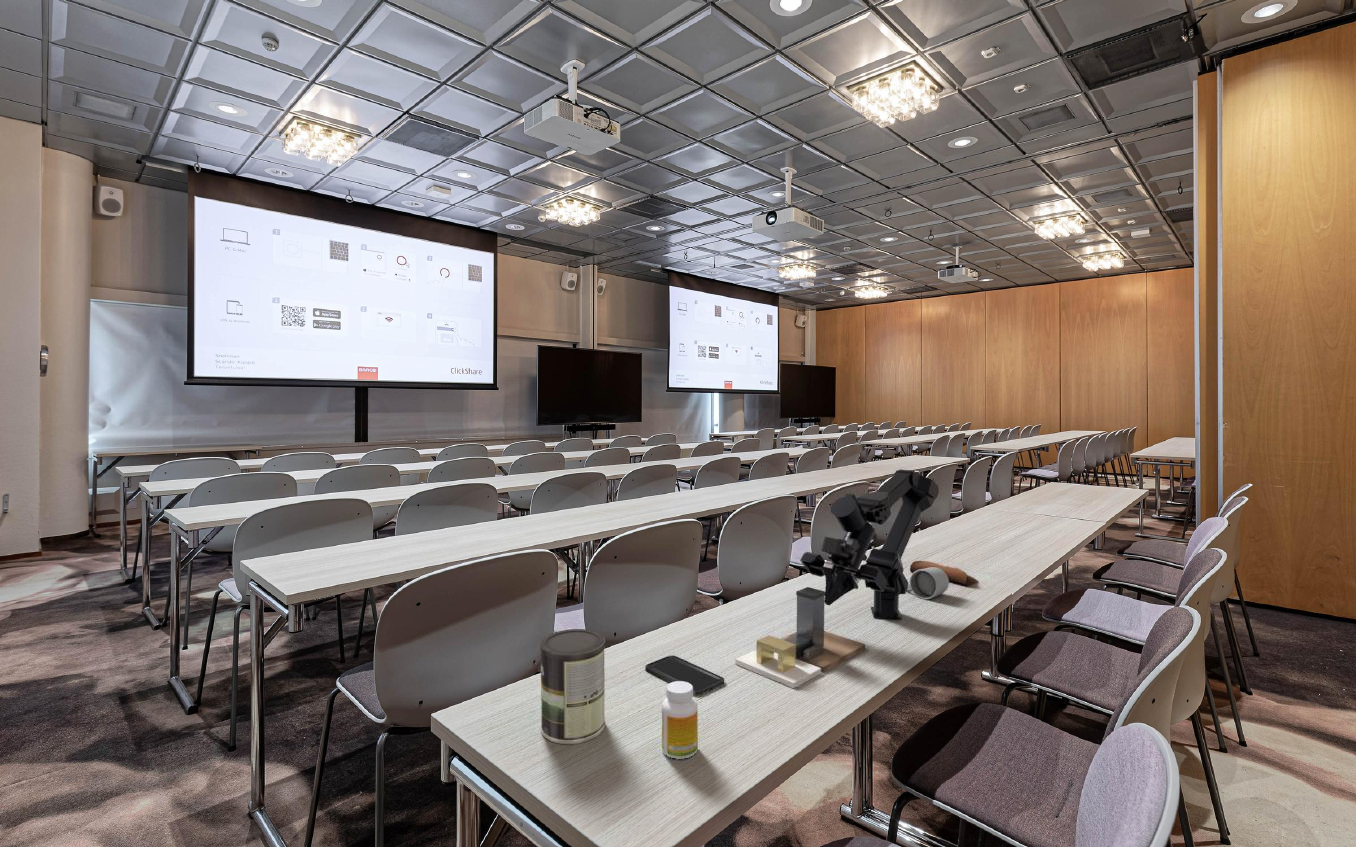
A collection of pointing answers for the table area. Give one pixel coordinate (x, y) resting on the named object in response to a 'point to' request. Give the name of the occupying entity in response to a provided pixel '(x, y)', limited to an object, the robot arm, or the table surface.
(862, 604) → the table surface
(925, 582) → the ceramic mug
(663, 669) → the phone
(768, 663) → the jamb plate
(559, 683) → the coffee can
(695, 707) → the supplement bottle
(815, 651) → the guide rails
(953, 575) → the orange brown tapered rod
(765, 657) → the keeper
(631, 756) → the table surface
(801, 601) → the dark square pillar
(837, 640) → the door leaf
